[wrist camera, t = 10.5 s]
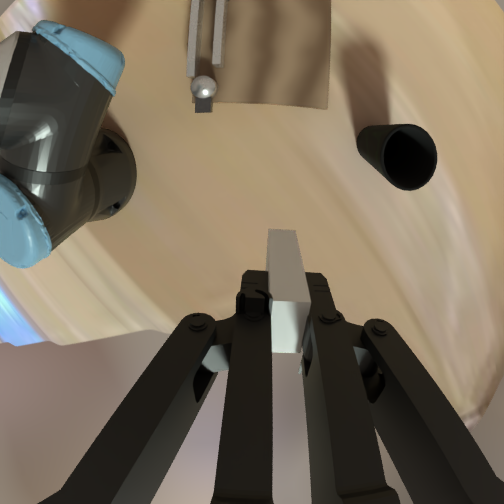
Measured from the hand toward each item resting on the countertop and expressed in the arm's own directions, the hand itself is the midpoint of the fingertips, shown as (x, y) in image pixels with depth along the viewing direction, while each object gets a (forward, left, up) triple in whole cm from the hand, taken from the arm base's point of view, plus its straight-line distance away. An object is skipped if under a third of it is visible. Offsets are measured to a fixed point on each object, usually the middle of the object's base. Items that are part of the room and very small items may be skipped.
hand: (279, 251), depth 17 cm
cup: (+15, +5, -27) cm, 31 cm away
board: (-2, +18, -26) cm, 32 cm away
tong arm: (-7, +20, -24) cm, 33 cm away
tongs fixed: (-9, +18, -24) cm, 31 cm away
